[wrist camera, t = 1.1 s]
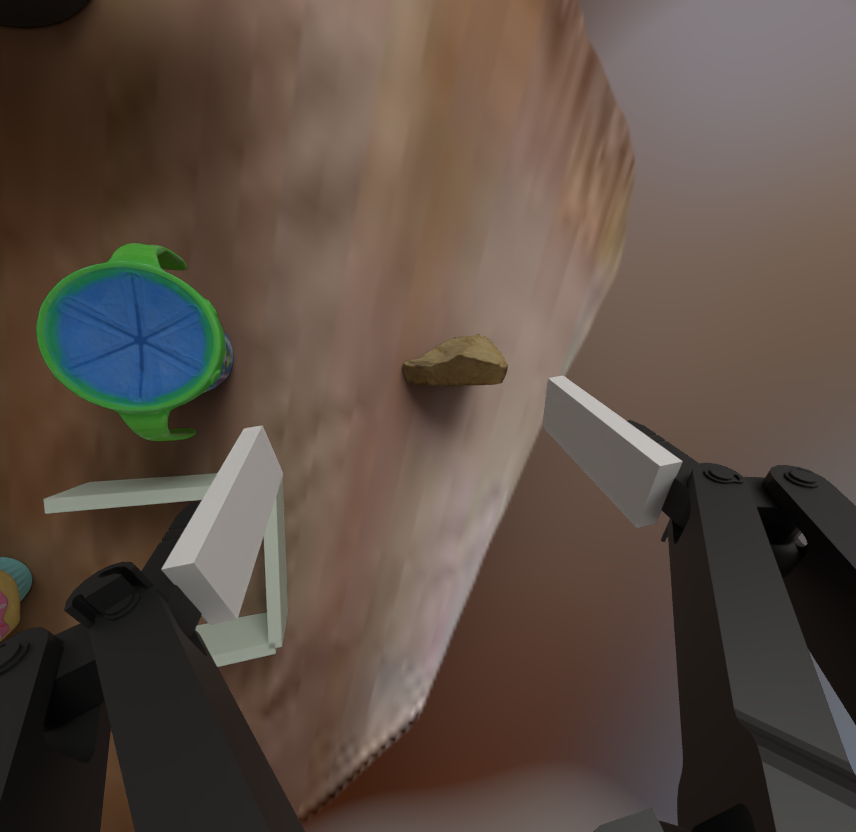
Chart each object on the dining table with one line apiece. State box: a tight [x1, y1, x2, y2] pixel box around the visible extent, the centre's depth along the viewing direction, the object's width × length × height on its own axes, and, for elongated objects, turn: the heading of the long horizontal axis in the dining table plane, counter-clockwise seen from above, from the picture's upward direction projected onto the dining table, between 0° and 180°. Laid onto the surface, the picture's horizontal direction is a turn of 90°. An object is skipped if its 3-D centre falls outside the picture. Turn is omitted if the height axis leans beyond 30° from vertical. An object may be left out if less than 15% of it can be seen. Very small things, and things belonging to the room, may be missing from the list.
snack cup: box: [36, 243, 234, 441], centre depth 27 cm, size 16×11×10 cm
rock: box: [403, 334, 508, 386], centre depth 37 cm, size 11×9×10 cm
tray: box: [44, 473, 288, 667], centre depth 31 cm, size 17×17×5 cm
